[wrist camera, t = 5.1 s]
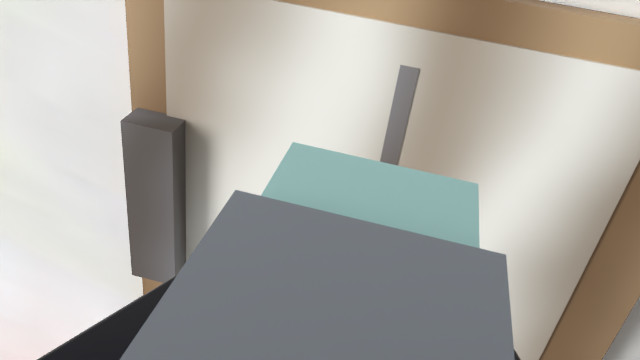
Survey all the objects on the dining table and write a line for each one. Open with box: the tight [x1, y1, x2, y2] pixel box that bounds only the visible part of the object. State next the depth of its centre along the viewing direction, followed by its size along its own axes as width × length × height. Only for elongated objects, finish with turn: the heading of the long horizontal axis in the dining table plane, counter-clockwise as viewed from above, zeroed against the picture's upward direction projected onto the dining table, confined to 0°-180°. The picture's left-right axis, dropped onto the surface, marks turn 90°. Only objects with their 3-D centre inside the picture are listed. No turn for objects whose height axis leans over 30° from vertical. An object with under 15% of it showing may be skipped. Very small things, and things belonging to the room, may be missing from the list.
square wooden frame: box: [121, 0, 640, 360], centre depth 18 cm, size 16×16×2 cm
